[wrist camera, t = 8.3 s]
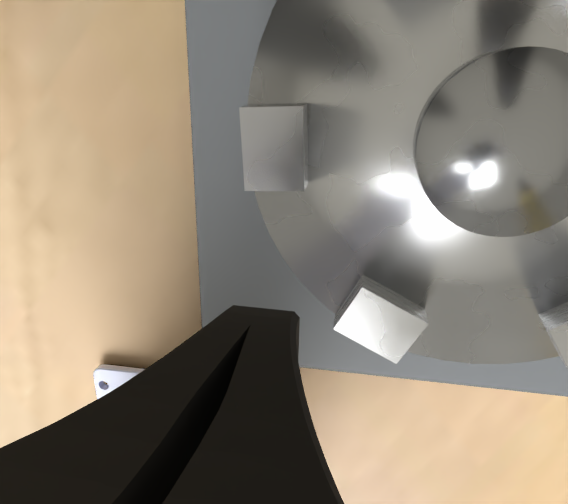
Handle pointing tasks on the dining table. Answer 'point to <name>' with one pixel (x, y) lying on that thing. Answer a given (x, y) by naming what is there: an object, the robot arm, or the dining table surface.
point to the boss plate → (252, 229)
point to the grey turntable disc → (419, 170)
